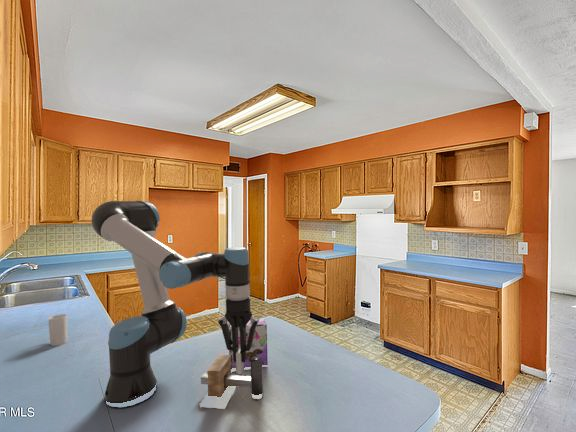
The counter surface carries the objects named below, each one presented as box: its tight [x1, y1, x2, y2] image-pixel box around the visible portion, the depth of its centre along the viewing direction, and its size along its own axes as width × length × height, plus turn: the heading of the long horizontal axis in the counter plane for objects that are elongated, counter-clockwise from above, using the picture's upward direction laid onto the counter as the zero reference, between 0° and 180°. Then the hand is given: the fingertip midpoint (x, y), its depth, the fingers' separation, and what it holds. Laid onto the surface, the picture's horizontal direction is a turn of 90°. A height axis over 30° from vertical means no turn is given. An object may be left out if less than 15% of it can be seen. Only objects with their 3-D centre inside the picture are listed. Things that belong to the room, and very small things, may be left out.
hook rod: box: [200, 356, 264, 395], centre depth 99 cm, size 20×4×12 cm, turn 81°
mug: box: [48, 313, 68, 347], centre depth 142 cm, size 10×7×12 cm, turn 64°
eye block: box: [206, 354, 233, 397], centre depth 100 cm, size 8×14×10 cm, turn 171°
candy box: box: [227, 318, 268, 369], centre depth 117 cm, size 14×6×16 cm, turn 105°
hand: (240, 371), depth 99 cm, fingers closed
